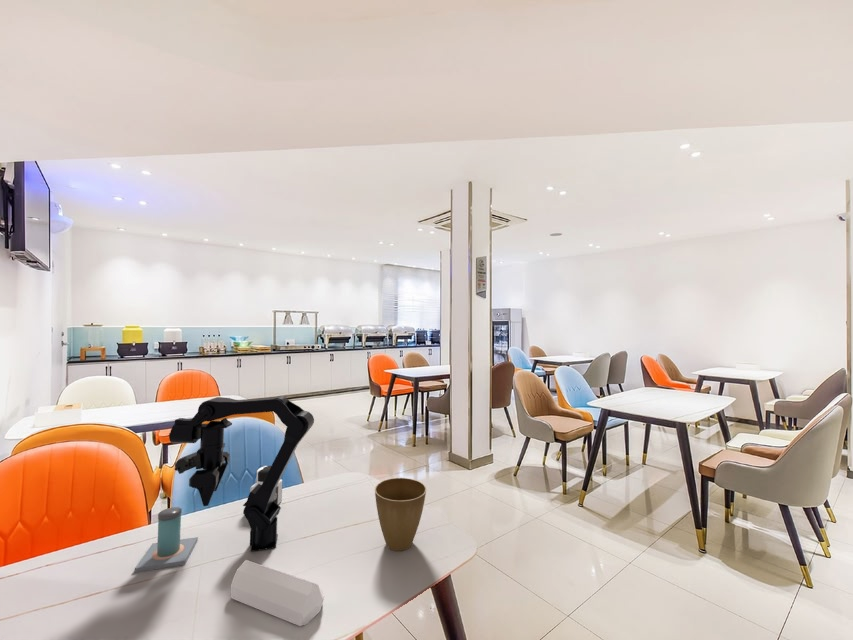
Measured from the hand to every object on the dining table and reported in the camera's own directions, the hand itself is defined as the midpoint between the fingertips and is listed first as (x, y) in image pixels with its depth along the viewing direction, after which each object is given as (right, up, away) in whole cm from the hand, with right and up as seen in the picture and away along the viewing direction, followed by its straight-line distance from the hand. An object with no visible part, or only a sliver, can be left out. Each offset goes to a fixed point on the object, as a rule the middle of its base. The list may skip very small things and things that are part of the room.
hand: (210, 498), depth 103 cm
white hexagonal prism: (+28, -13, -21) cm, 38 cm away
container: (+6, -14, +23) cm, 27 cm away
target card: (-8, -13, -6) cm, 16 cm away
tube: (-8, -12, -6) cm, 15 cm away
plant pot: (+54, -14, +2) cm, 56 cm away
